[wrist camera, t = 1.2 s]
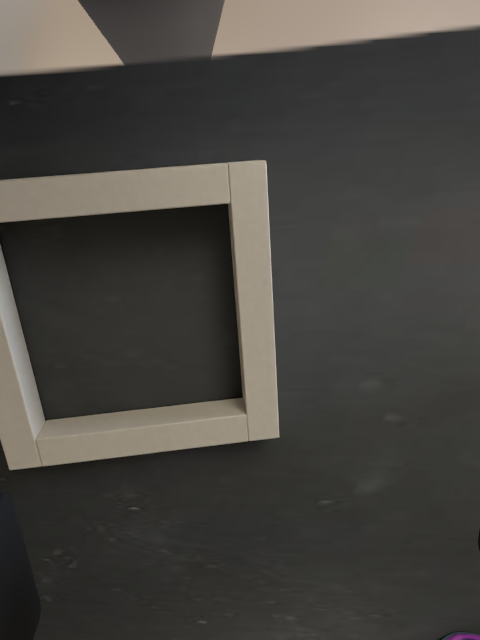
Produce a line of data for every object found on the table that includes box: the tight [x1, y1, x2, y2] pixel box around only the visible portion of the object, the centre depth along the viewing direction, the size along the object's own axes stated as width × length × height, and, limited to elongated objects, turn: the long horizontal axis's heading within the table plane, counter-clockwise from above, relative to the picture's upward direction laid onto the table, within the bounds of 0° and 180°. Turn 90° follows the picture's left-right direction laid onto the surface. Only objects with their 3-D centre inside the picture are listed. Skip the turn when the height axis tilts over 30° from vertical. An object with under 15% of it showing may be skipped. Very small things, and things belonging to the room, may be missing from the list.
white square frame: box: [0, 160, 279, 470], centre depth 24 cm, size 15×15×2 cm
